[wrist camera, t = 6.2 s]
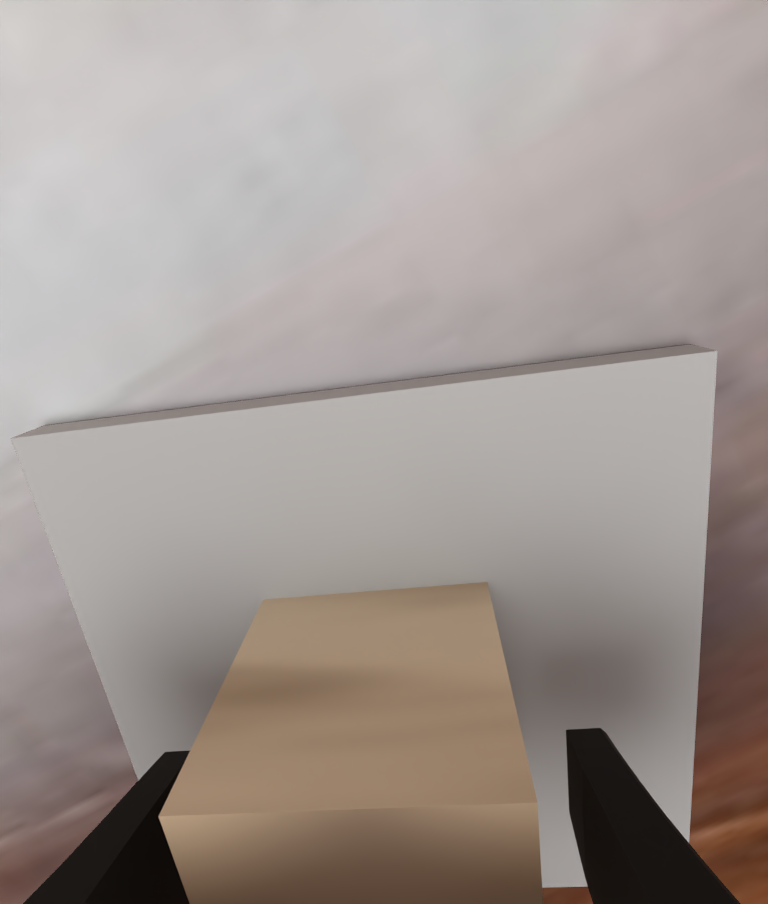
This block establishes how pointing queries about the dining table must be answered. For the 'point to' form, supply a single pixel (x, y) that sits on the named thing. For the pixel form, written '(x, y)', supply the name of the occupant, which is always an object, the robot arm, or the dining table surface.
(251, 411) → the light gray board
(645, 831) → the robot arm
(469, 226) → the dining table surface
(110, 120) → the dining table surface
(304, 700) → the birch cube
